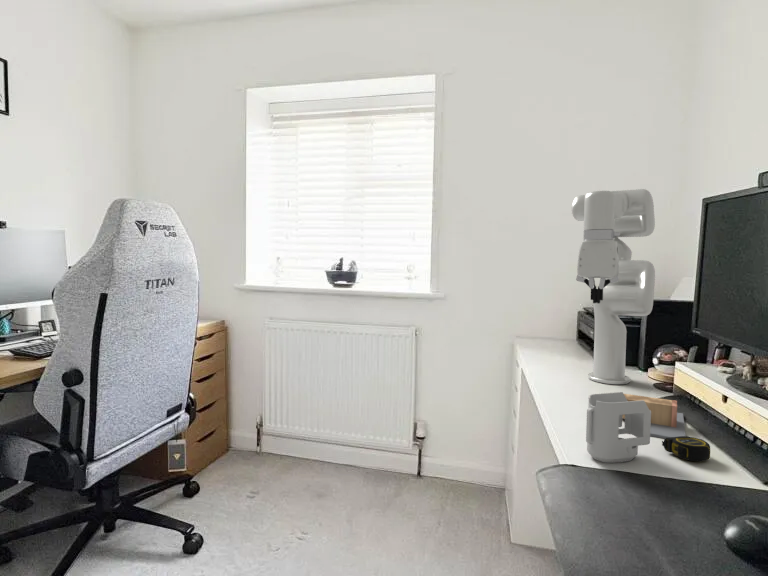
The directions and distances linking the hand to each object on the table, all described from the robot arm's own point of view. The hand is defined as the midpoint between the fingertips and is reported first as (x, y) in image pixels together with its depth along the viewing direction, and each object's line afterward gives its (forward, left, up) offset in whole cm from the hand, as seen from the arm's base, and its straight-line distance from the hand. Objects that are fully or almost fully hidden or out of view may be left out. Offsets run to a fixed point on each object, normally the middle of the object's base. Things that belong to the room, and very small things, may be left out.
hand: (596, 302), depth 123 cm
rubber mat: (+10, +15, -28) cm, 33 cm away
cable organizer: (+36, +9, -29) cm, 47 cm away
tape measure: (+28, +21, -29) cm, 45 cm away
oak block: (+10, +7, -25) cm, 28 cm away
